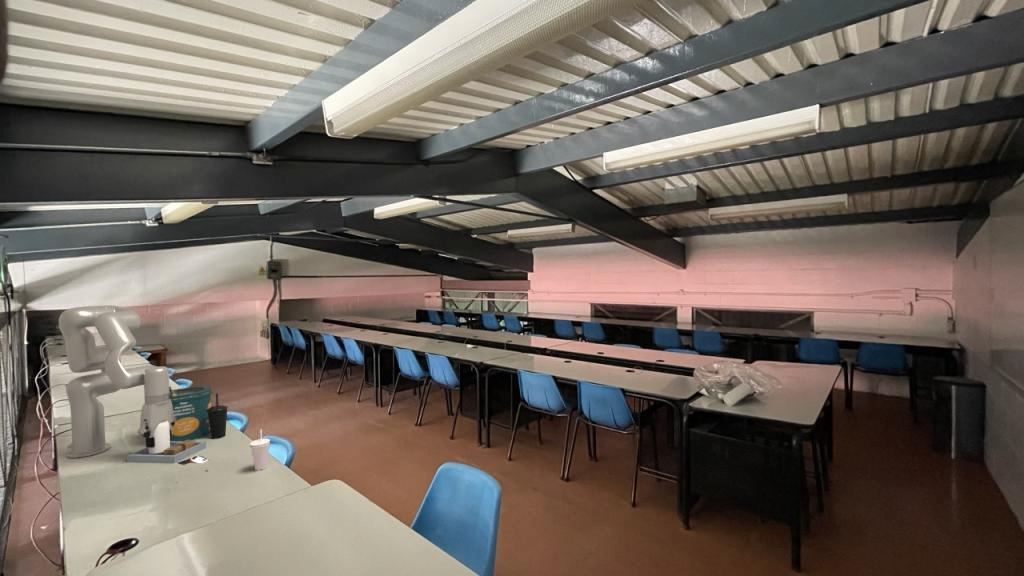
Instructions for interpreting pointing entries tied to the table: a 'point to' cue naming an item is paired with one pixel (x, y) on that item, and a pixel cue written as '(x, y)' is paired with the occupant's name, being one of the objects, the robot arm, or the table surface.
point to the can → (161, 438)
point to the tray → (146, 457)
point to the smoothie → (260, 452)
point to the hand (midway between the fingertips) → (159, 443)
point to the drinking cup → (217, 420)
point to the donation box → (190, 412)
